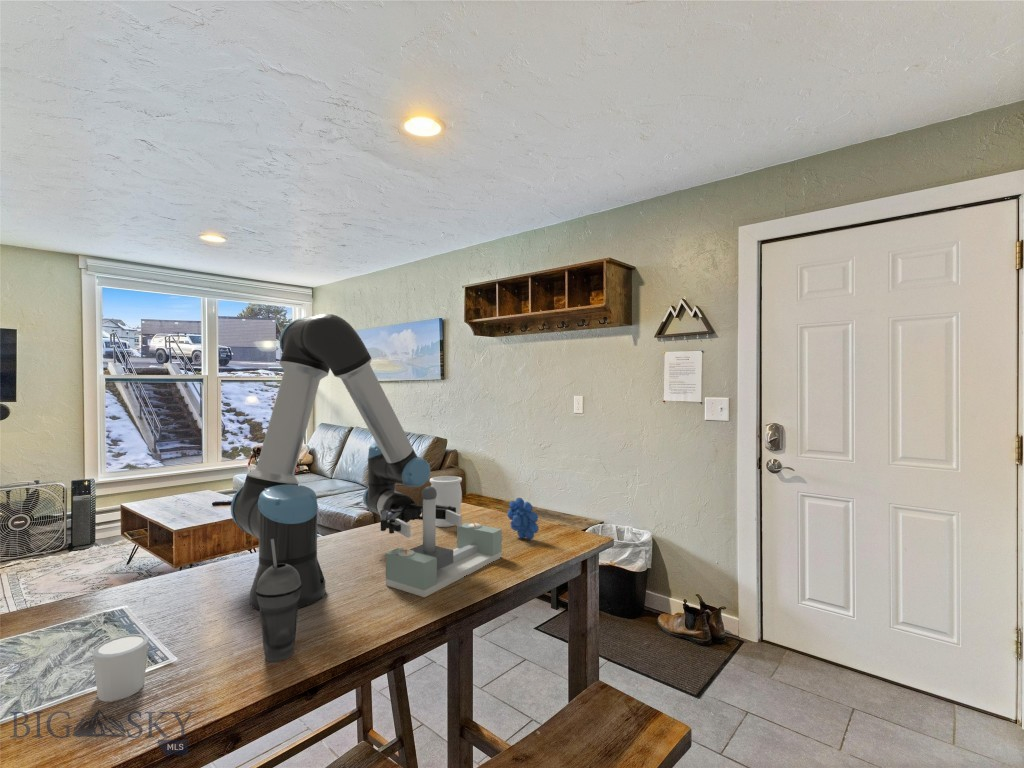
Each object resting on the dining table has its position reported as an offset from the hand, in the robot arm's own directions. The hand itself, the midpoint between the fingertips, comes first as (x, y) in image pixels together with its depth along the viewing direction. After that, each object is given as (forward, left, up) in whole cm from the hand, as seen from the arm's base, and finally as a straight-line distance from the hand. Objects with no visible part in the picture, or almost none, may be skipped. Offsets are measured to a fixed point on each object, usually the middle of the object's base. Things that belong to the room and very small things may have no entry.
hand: (435, 526), depth 118 cm
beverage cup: (-38, +2, -14) cm, 40 cm away
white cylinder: (-57, +13, -14) cm, 60 cm away
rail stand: (+8, +3, -13) cm, 16 cm away
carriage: (+1, +3, -10) cm, 10 cm away
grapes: (+39, +1, -14) cm, 41 cm away
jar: (+39, +30, -14) cm, 51 cm away
